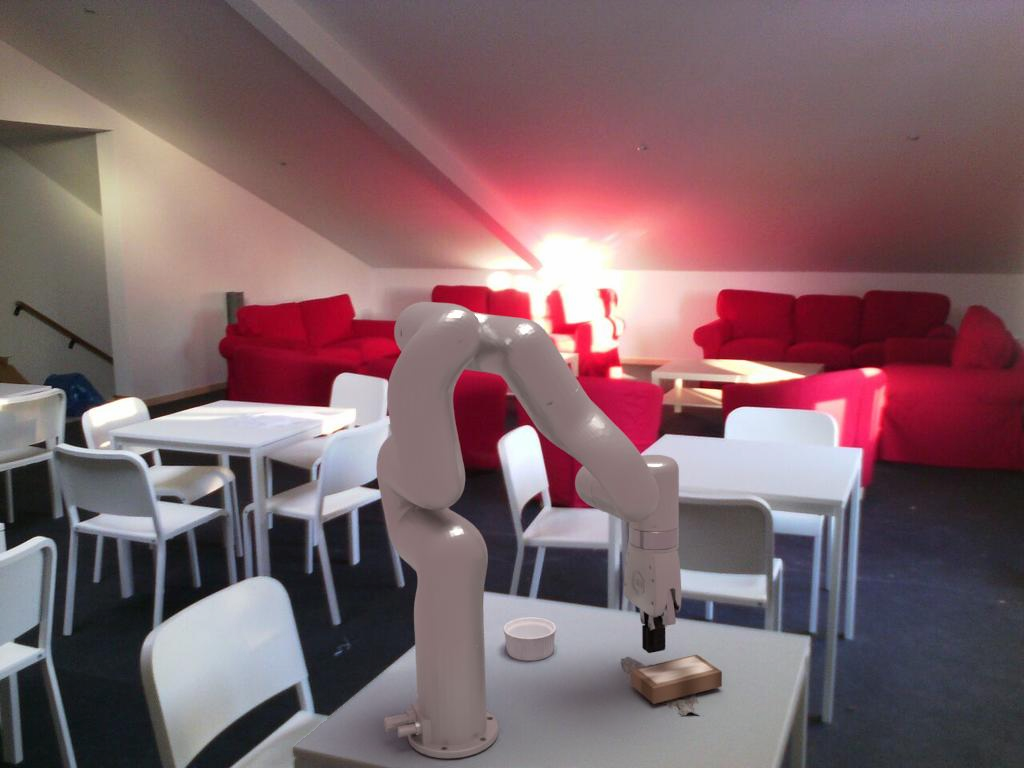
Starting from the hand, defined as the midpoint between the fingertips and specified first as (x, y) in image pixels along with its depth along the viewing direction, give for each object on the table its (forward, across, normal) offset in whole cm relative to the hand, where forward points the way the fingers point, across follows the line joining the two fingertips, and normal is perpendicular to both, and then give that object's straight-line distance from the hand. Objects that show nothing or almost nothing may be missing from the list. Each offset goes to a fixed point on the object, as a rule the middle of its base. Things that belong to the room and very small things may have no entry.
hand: (653, 649), depth 137 cm
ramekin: (+5, -17, -14) cm, 22 cm away
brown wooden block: (+3, +2, +1) cm, 3 cm away
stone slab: (+6, +3, -1) cm, 6 cm away
